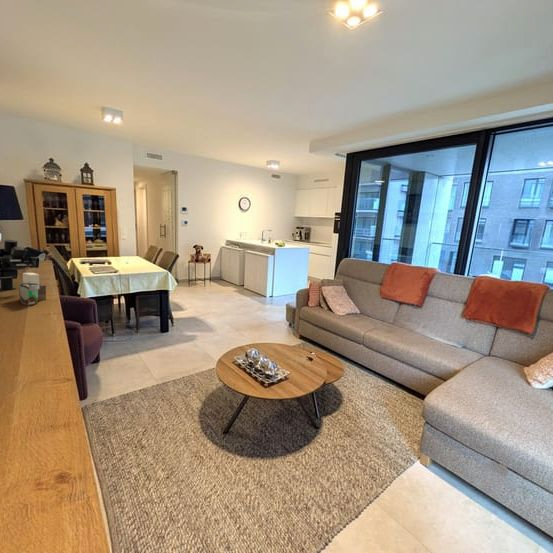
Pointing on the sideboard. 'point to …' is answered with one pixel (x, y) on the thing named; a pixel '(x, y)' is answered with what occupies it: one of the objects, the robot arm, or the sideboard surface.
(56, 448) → the sideboard surface
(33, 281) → the white upright block
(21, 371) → the sideboard surface
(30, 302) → the food container
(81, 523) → the sideboard surface
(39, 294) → the dispenser
